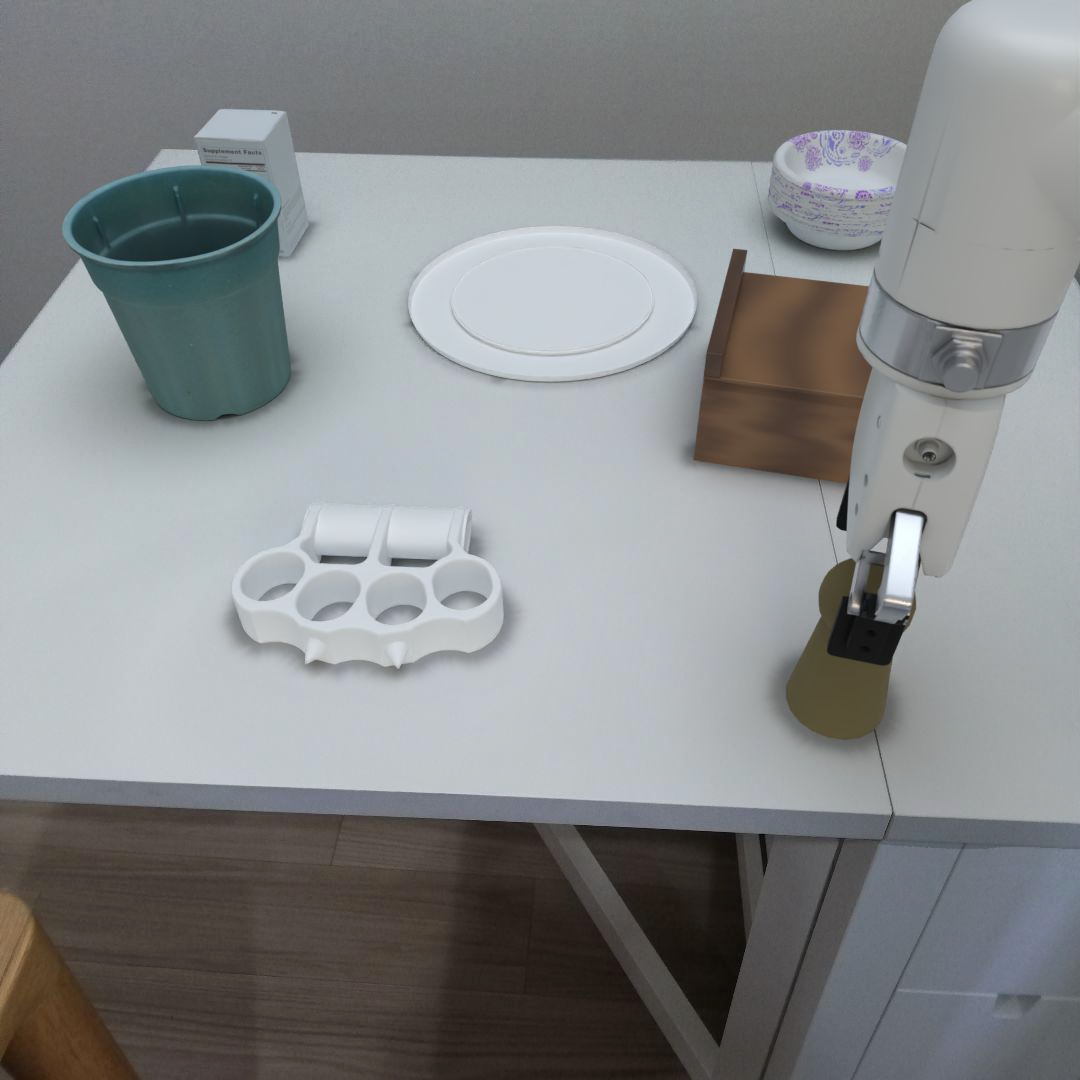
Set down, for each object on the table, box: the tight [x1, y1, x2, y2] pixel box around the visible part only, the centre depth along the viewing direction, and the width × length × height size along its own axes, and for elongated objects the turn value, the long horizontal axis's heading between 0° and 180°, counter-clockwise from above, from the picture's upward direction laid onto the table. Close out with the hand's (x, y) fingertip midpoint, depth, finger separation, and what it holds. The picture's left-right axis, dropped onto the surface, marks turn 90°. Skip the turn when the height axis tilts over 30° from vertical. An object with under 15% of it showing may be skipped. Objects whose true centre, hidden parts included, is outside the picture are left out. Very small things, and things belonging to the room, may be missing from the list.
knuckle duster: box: [230, 500, 505, 670], centre depth 67 cm, size 3×18×15 cm
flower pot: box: [61, 164, 292, 421], centre depth 81 cm, size 16×16×16 cm
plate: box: [407, 225, 698, 383], centre depth 95 cm, size 28×28×1 cm
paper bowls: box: [767, 129, 907, 251], centre depth 102 cm, size 15×15×8 cm
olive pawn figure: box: [785, 557, 917, 741], centre depth 57 cm, size 6×6×11 cm
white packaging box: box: [193, 108, 310, 258], centre depth 101 cm, size 7×7×13 cm
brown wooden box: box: [693, 248, 872, 485], centre depth 78 cm, size 14×16×10 cm
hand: (860, 589), depth 54 cm, fingers open, 9 cm apart
